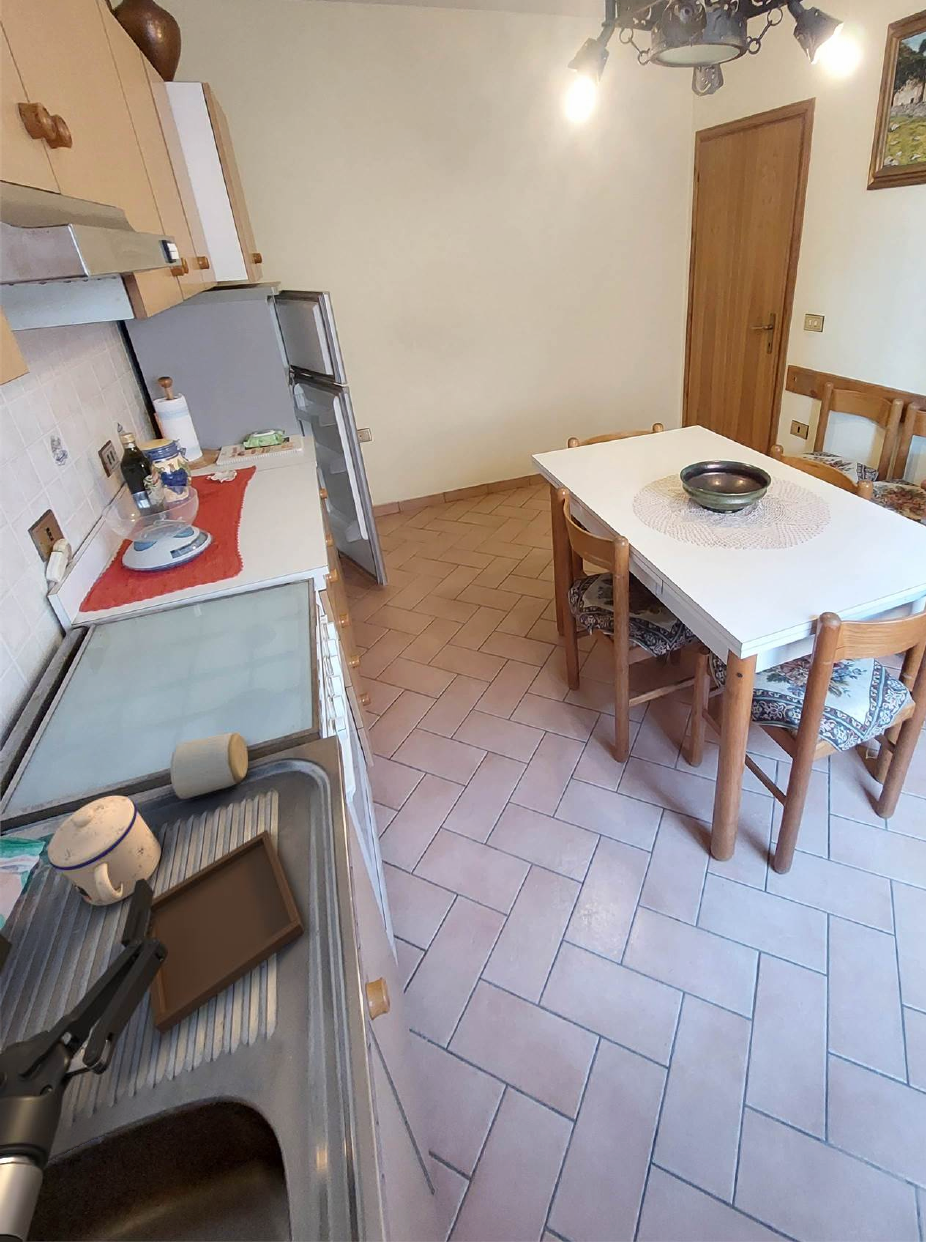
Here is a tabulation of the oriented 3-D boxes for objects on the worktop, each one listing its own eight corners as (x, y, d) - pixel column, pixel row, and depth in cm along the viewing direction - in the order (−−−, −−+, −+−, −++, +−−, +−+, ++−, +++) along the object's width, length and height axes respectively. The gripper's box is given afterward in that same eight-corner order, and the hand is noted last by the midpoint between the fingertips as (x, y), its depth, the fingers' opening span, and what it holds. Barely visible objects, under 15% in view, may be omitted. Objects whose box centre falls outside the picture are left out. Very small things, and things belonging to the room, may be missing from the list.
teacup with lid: (82, 865, 76) (36, 810, 70) (160, 823, 80) (123, 768, 75) (82, 948, 67) (30, 892, 62) (170, 895, 72) (129, 839, 66)
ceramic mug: (246, 792, 83) (228, 756, 80) (184, 811, 82) (162, 775, 78) (256, 736, 92) (240, 701, 89) (200, 752, 91) (181, 717, 87)
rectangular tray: (146, 915, 70) (139, 907, 69) (271, 837, 77) (266, 829, 76) (161, 1035, 59) (154, 1027, 59) (304, 932, 67) (300, 923, 66)
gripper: (-183, 1290, 44) (-43, 981, 62) (179, 1118, 51) (212, 884, 69) (-258, 1265, 41) (-86, 945, 58) (143, 1084, 47) (187, 846, 65)
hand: (75, 912), depth 63 cm, fingers open, 13 cm apart
